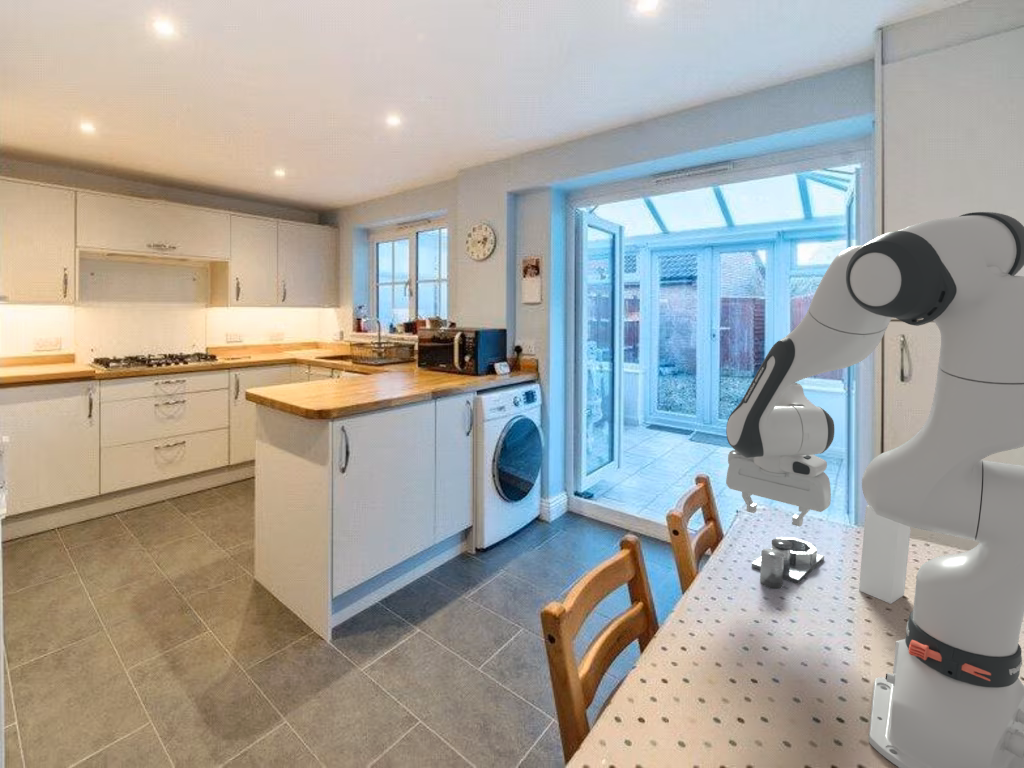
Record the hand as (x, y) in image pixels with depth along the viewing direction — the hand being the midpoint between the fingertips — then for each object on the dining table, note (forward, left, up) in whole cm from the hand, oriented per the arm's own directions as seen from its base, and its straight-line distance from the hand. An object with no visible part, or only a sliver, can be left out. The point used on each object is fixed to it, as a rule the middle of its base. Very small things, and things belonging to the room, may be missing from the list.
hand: (773, 518), depth 108 cm
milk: (+13, -17, -15) cm, 26 cm away
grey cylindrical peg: (0, 0, -15) cm, 15 cm away
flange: (+12, +1, -15) cm, 19 cm away
